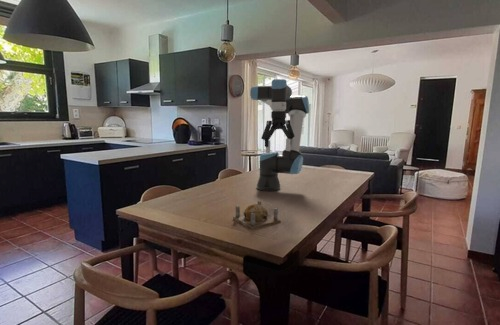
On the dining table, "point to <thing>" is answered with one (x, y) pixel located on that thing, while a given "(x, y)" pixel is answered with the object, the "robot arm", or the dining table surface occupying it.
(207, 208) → the dining table surface
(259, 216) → the bread roll
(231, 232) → the dining table surface
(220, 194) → the dining table surface
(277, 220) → the trivet
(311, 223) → the dining table surface
